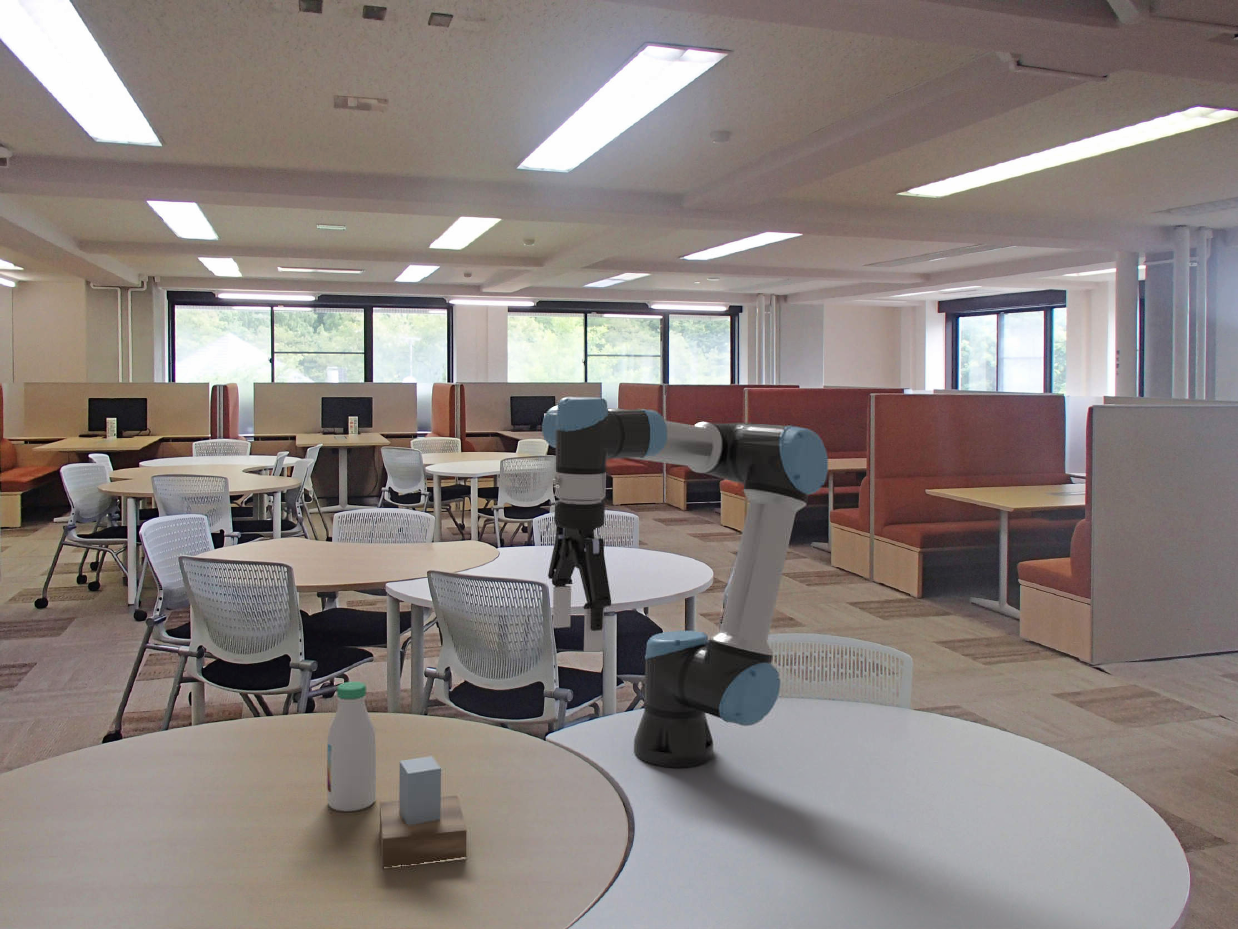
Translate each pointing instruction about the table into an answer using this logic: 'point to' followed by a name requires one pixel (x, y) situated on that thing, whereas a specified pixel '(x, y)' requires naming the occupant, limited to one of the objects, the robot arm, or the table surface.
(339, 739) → the milk bottle
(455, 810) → the walnut box
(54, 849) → the table surface
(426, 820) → the block
